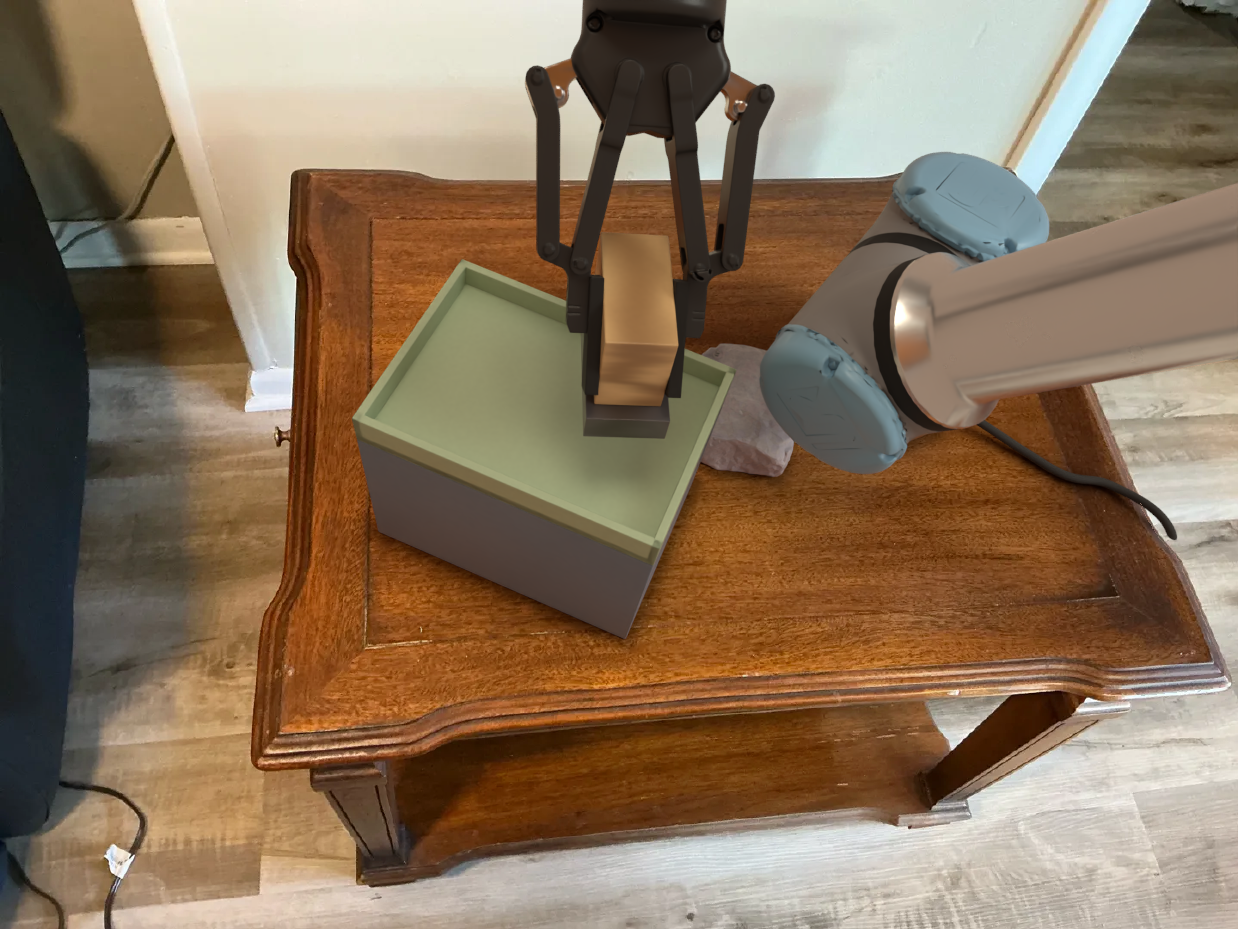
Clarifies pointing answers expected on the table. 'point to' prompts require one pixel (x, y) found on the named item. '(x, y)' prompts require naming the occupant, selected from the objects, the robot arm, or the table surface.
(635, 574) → the stand
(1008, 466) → the table surface
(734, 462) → the stone block
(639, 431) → the eraser
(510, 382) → the tray
